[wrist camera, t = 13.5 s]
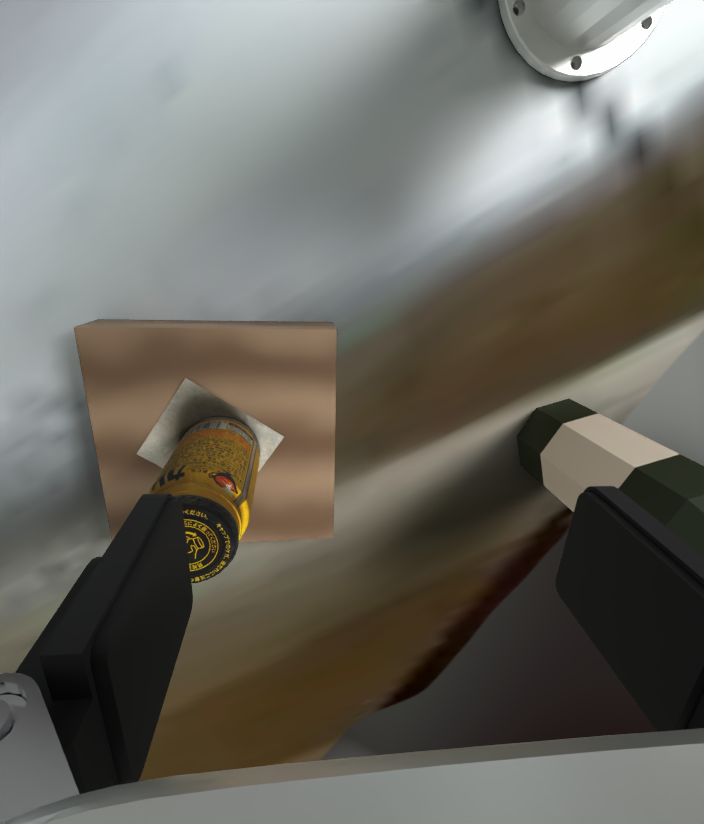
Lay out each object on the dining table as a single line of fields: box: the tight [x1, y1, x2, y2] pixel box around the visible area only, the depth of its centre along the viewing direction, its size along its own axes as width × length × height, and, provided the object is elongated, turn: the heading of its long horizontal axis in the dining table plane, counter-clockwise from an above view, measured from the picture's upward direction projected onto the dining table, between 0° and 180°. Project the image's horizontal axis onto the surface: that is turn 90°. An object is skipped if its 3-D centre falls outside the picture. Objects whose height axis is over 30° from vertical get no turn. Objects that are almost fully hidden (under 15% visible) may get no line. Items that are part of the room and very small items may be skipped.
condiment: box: [137, 378, 284, 583], centre depth 28 cm, size 7×8×12 cm
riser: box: [74, 320, 337, 543], centre depth 36 cm, size 18×18×4 cm
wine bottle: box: [517, 399, 704, 556], centre depth 28 cm, size 8×8×30 cm
